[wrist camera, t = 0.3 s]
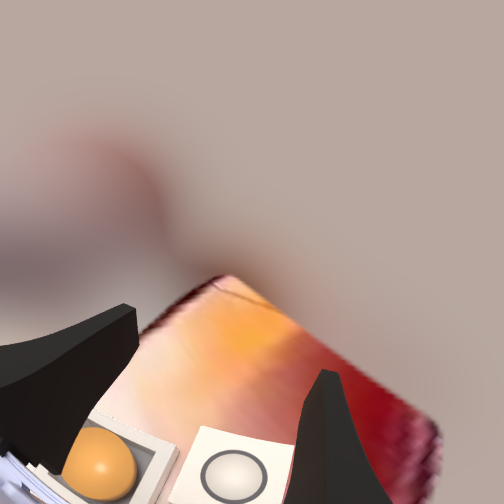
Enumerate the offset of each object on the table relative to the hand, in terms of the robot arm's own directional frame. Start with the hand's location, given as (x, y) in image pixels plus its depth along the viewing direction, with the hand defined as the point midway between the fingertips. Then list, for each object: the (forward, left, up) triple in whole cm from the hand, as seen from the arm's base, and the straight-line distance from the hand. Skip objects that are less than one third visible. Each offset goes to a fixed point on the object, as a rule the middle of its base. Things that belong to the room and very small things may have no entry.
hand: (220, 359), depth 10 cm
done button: (-4, +12, -19) cm, 23 cm away
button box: (-4, +12, -21) cm, 24 cm away
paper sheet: (+1, 0, -21) cm, 21 cm away
